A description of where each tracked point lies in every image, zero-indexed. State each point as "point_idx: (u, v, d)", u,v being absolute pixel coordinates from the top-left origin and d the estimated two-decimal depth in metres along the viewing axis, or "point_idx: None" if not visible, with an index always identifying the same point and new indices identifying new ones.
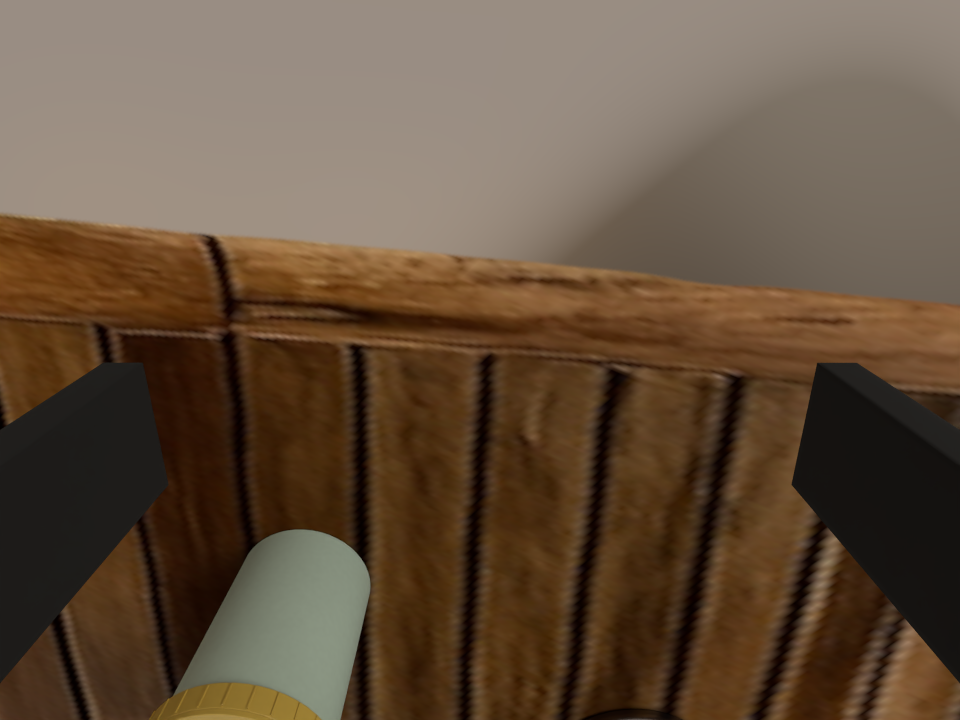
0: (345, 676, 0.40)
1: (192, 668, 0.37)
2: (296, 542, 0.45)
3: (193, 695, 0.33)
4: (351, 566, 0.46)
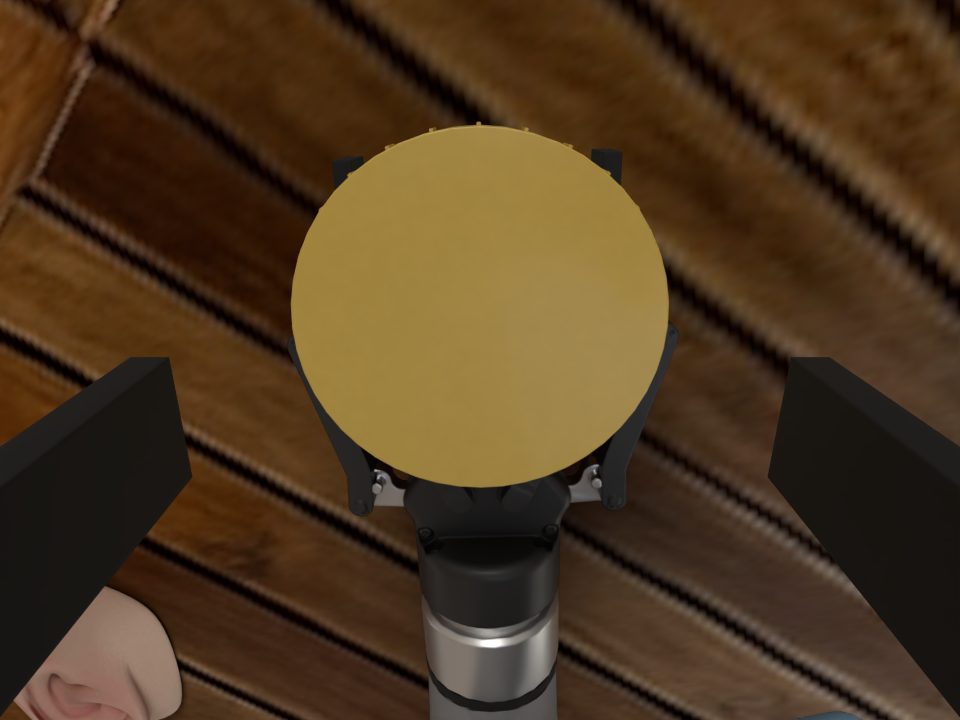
0: None
1: None
2: None
3: None
4: None
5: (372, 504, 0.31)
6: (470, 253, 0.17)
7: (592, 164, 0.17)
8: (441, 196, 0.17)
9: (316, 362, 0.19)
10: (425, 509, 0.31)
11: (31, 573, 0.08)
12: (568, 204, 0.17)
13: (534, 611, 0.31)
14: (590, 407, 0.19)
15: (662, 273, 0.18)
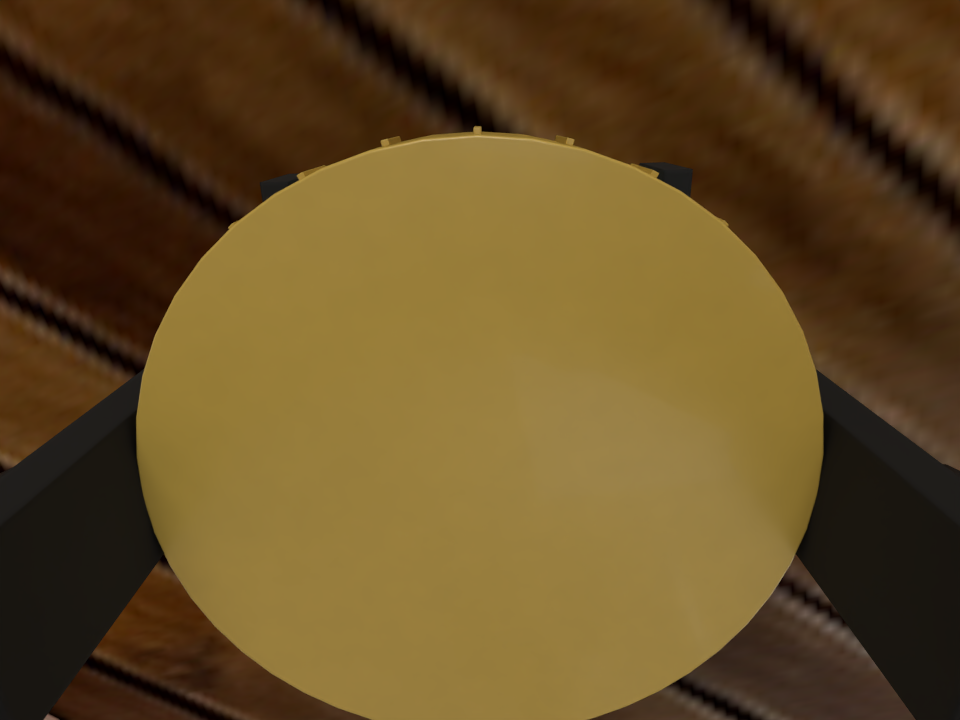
0: None
1: None
2: None
3: None
4: None
5: None
6: (462, 371, 0.09)
7: (699, 210, 0.09)
8: (406, 269, 0.09)
9: (190, 551, 0.11)
10: None
11: (91, 553, 0.09)
12: (649, 284, 0.09)
13: None
14: (671, 620, 0.11)
15: (816, 406, 0.10)
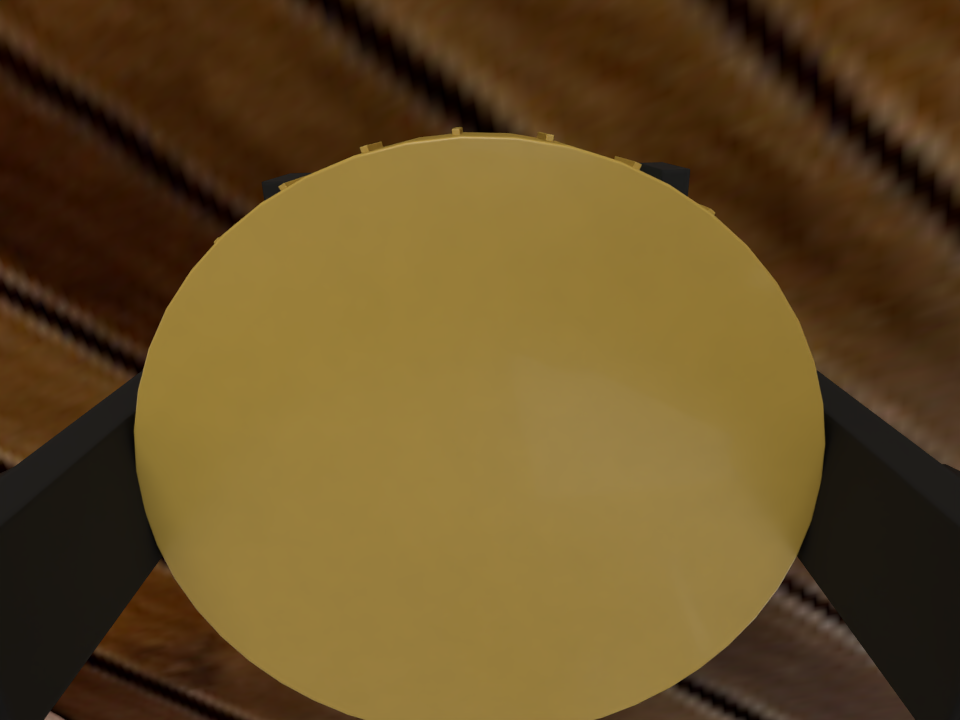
0: None
1: None
2: None
3: None
4: None
5: None
6: (346, 469, 0.10)
7: (244, 222, 0.09)
8: (239, 479, 0.10)
9: (445, 718, 0.12)
10: None
11: (91, 553, 0.09)
12: (307, 287, 0.09)
13: None
14: (724, 365, 0.09)
15: (503, 143, 0.08)
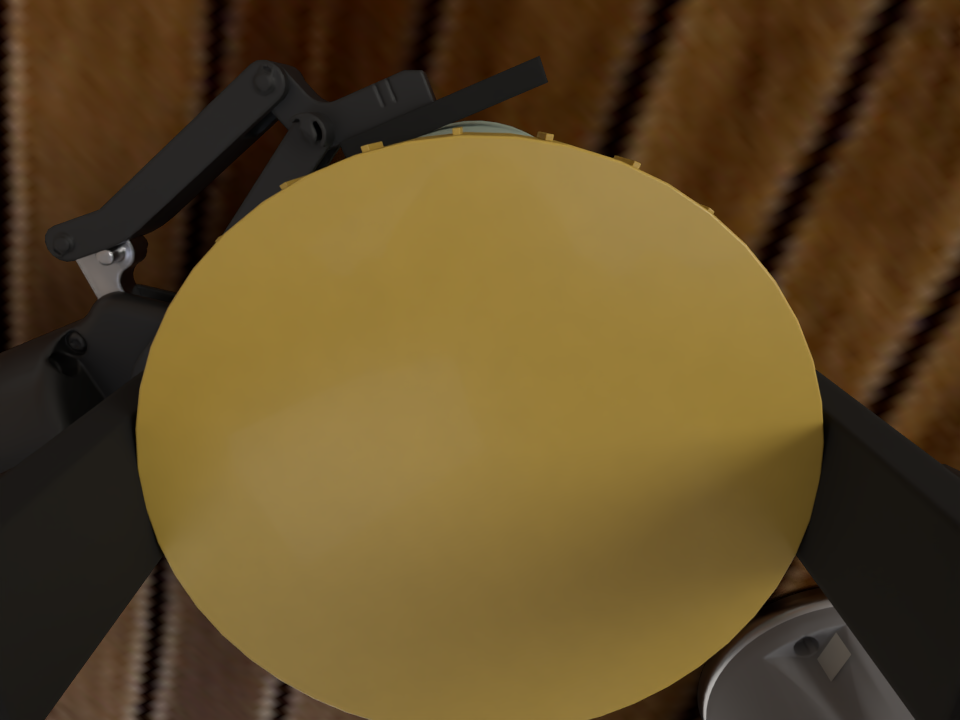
0: None
1: None
2: (509, 126, 0.24)
3: None
4: None
5: (76, 258, 0.21)
6: (347, 468, 0.10)
7: (245, 220, 0.09)
8: (240, 477, 0.10)
9: (445, 716, 0.12)
10: (112, 331, 0.22)
11: (92, 553, 0.09)
12: (308, 286, 0.09)
13: None
14: (723, 364, 0.09)
15: (503, 142, 0.08)
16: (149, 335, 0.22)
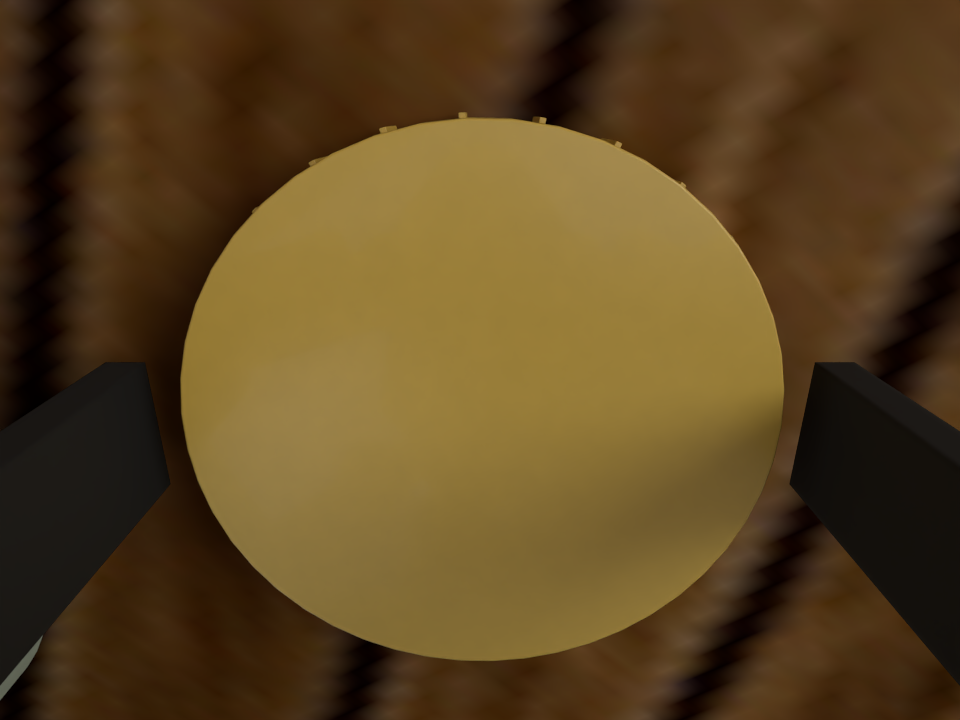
0: None
1: None
2: None
3: None
4: None
5: None
6: (365, 413, 0.11)
7: (280, 192, 0.10)
8: (271, 422, 0.11)
9: (451, 643, 0.13)
10: None
11: None
12: (333, 250, 0.10)
13: None
14: (694, 319, 0.11)
15: (502, 124, 0.10)
16: None
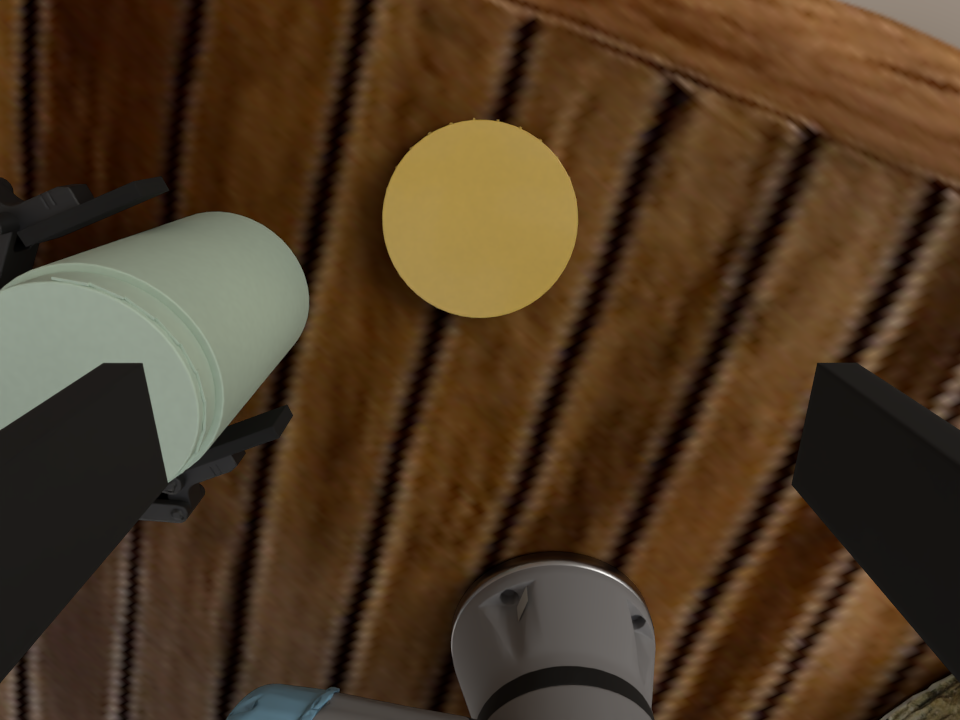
0: (260, 358, 0.30)
1: None
2: (229, 218, 0.35)
3: None
4: (292, 270, 0.36)
5: None
6: (442, 215, 0.35)
7: (420, 141, 0.33)
8: (411, 218, 0.35)
9: (469, 309, 0.37)
10: None
11: None
12: (435, 159, 0.34)
13: None
14: (546, 182, 0.34)
15: (485, 121, 0.33)
16: None
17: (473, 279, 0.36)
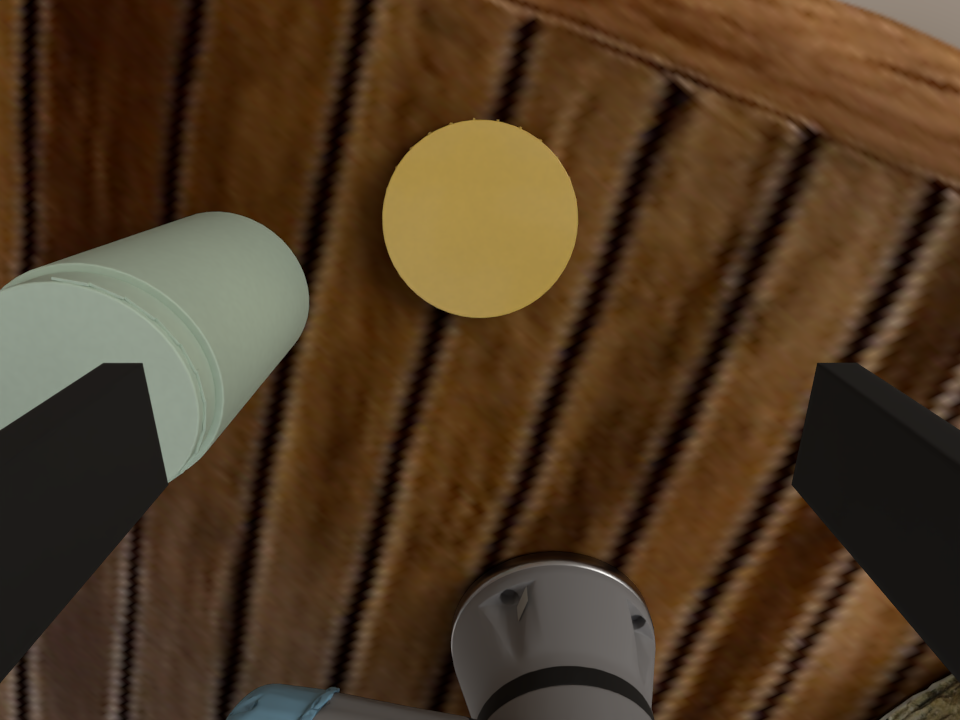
0: (260, 358, 0.30)
1: None
2: (229, 218, 0.35)
3: None
4: (292, 270, 0.36)
5: None
6: (442, 215, 0.35)
7: (420, 141, 0.33)
8: (411, 218, 0.35)
9: (469, 309, 0.37)
10: None
11: None
12: (435, 159, 0.34)
13: None
14: (546, 182, 0.34)
15: (485, 121, 0.33)
16: None
17: (473, 279, 0.36)
